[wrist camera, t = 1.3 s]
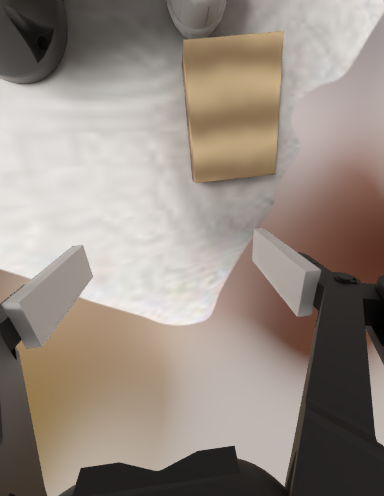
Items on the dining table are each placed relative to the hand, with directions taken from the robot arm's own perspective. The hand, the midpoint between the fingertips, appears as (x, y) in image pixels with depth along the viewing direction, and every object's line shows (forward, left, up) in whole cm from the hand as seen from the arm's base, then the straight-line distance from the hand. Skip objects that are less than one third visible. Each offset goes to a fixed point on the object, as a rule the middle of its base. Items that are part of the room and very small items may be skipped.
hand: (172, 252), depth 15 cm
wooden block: (-12, +10, -22) cm, 27 cm away
